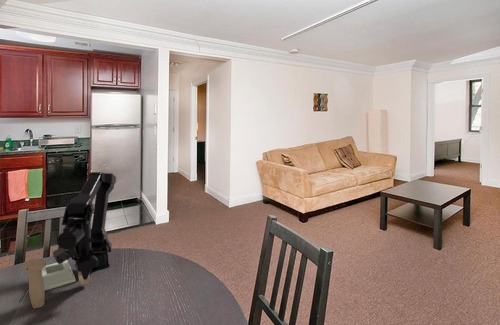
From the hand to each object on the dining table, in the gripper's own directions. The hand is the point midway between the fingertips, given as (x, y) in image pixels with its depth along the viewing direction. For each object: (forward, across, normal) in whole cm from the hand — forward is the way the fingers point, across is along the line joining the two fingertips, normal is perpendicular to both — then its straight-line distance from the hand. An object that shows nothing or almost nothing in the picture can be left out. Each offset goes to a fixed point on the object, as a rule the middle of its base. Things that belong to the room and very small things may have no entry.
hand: (84, 276), depth 103 cm
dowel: (+2, 0, 0) cm, 2 cm away
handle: (+4, +3, -14) cm, 15 cm away
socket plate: (+4, -11, -7) cm, 14 cm away
